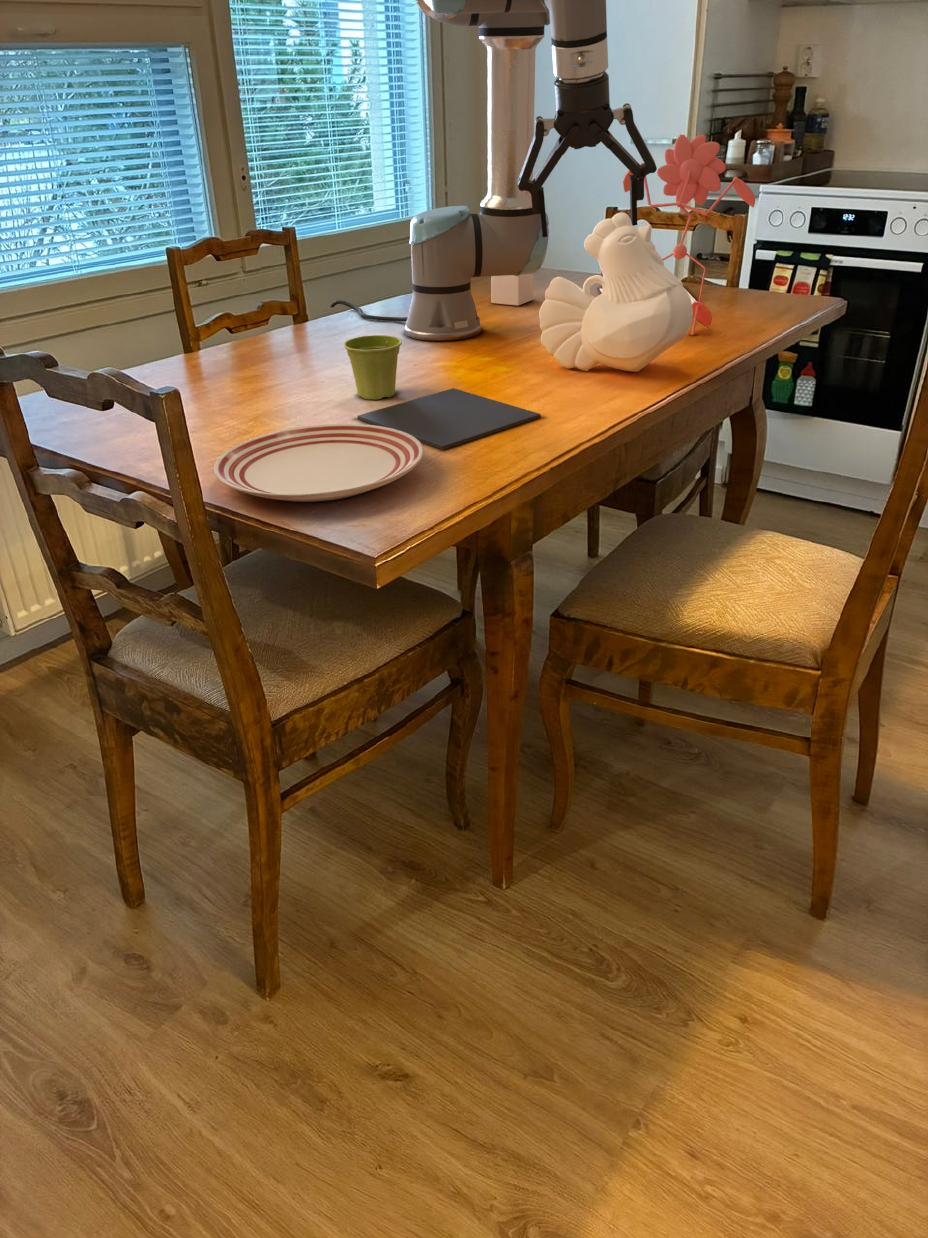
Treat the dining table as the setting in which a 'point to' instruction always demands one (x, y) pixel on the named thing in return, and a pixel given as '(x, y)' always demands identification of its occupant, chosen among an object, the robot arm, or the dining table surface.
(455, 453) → the dining table surface
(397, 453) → the dinner plate
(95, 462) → the dining table surface
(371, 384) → the plant pot
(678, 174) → the figurine
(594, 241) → the decorative rooster
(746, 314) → the dining table surface
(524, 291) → the milk carton
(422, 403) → the placemat
